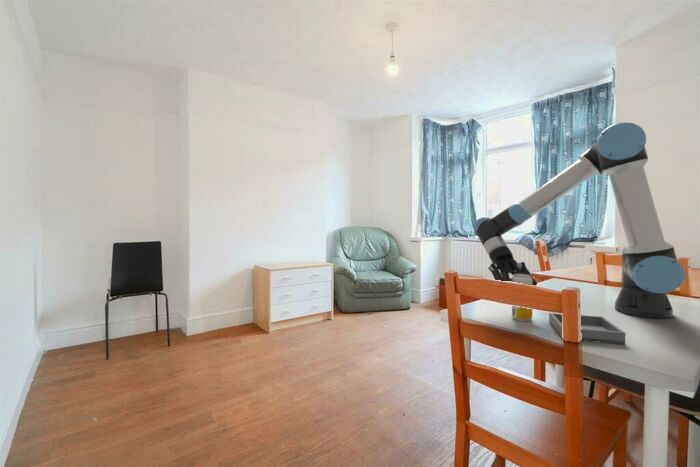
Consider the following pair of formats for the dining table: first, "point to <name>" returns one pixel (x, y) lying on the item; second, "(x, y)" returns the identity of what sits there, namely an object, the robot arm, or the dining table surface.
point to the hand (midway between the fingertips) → (529, 306)
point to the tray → (592, 328)
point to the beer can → (521, 313)
